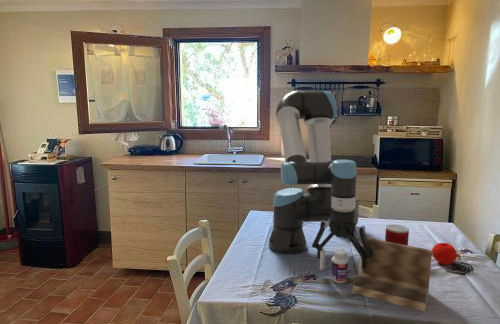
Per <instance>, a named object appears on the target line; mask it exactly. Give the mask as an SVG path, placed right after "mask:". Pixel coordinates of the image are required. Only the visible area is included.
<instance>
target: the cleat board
mask: <svg viewBox="0 0 500 324" xmlns="http://www.w3.org/2000/svg"><path fill="white" fill-rule="evenodd" d="M367 239H368V241H369V244H370V247H371V249H372V252H373V256H372V258H371V259H369V258H368V259H367V266H366V268H365V269H363V276H360V275H359V274H353V277H352V293H353V294H357V295H360V296H364V297H368V298H371V299H374V300H379V301H382V302H386V303H389V304H390V303H391V304H394V305H397V304H398V305H397V306H400V307H404V306H406V307H405V308H408V307H410V308H409V309H412V308H414V309H413V310H415V309H417V310H416V311H419V310H421V311H420V312H423V311H425V312H426V309H427V303H428V297H429V291H430V290H429V289H430V281H431V280H430V278H431V268H432V267H431V265H432V257H433V254H432V249H429V248H423V247H418V246H413V245H409V244H408V245H403V244H397V243H392V242H387V241H385V240H380V239H375V238H369V237H367ZM361 246H362V247H363V249H364V246H363V243H362V242H361ZM364 250H365V249H364ZM365 252H366V251H365Z"/></svg>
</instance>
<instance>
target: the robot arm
mask: <svg viewBox="0 0 500 324" xmlns="http://www.w3.org/2000/svg"><path fill="white" fill-rule="evenodd" d="M337 107H338V106H337V100H336V98H335V95H334V94H333V92H331V91H329V90H323V89H322V90H293V91H290V92H289V93H287V94H285V95H284V96H283V97H282V98H281V99H280V100H279V102H278V104H277V107H276V110H275V118H276V121H277V122H278V124H279V127H280V135H281V142H282V148H283V149H282V150H283V156H284V162H282V163H281V165H280V180H281V183H282V184H284V185H293V186H297V185H308V186H307V189H306V192H304V189H302V188H300V187H287V188H283V189H281V190H278V191H276V192H275V193H274V195H273V203H272V206H273V221H272V223H273V224H272V225H273V226H272V231H271V233H270V236H269V238H268V248H269V247H270V248H269V249H270V250H272V251H273V252H275V253H279V254H287V255H290V254H298V253H299V254H300V253H302V252H304V251H305V250H306V249H307V239H306V235H305V233H304V230H303V223H309V222H310V223H319V222H320V225H319V227H320V228H319V230H318V232H317V234H316V236H315V238H314V241H312V242H313V243H312V245H311V247H312V248H314V249H316V250H317V257H316V258H317V259H318V260H319V270H320V271H323V270H324V269H325V268H326V265H325V264H326V248H324V247H325V246H326V244H328V242H329V241H330V240H331V239H332V238H333V237H334V236H335V237H336V238H343V239H348V241H349V242H350V243H351V244H352V246H353V247H354V248H355V250H356V252H357V253H358V255H359V256H360V257H359V258H358V275H360V276H363V269H365V268H366V266H367V259H368V258H369V259H371V258H372V256H373V252H372V249H371V247H370V244H369V241H368V239H367V238H368V236H367V235H366V227H365V225H361V226H357V225H356V226H355V210H354V209H355V196H356V195H357V193H356V192H357V191H356V188H357V176H358V175H357V174H358V171H357V163H356V162H355V161H354V160H351V159H335V160H332V157H331V156H332V153H331V138H330V137H331V135H330V126H331V125H332V123H333V119H336V116H337ZM300 120H303V122H304V123H303V124H304V125H305V126H306V127H307V128H308V129H307V131H308V133H307V134H308V155H309V157H308V158H309V161H307V160H308V158H307V155H306V150H305V149H306V148H305V144H304V140H303V135H302V131H301V125H300ZM328 221H330V222H328ZM327 228H329V229H330V231H331V232H330V233H329V234H328V235H327V236H326V237H325V238H324V240H323V241H322V242H321V243H320V241H321V238H322V236H323V235H324V233H325V230H326V229H327ZM355 231H356V232H357V234H358V236H359V238H360V240H361V243H360V242H359V240H358V238H357V237H356V234H355ZM319 243H320V244H319ZM362 243H363V246H364V249H365V250H364V249H363V247H362ZM365 251H366V252H365Z"/></svg>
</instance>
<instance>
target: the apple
mask: <svg viewBox="0 0 500 324" xmlns="http://www.w3.org/2000/svg"><path fill="white" fill-rule="evenodd" d="M431 250H432V257H433V258H434V259H435V260H436V262H438V263H439V264H441V265H444V266H448V265H450V264H452V263H454V262H455V261H456V259H457V257H458V252H457V251H456V249H455V247H454V246H453V245H452V244H449V243H447V242H438V243H437V244H435V245H433V247H432V249H431Z"/></svg>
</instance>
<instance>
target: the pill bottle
mask: <svg viewBox="0 0 500 324" xmlns="http://www.w3.org/2000/svg"><path fill="white" fill-rule="evenodd" d="M330 263H331V265H330V279H331V280H332V281H333V282H335V283H338V284H344V283H347V281H348V278H349V277H348V273H349V259H348V257H347V251H346V250H344V249H339V248H338V249H334V251H333V256H332V257H331V262H330Z"/></svg>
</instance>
